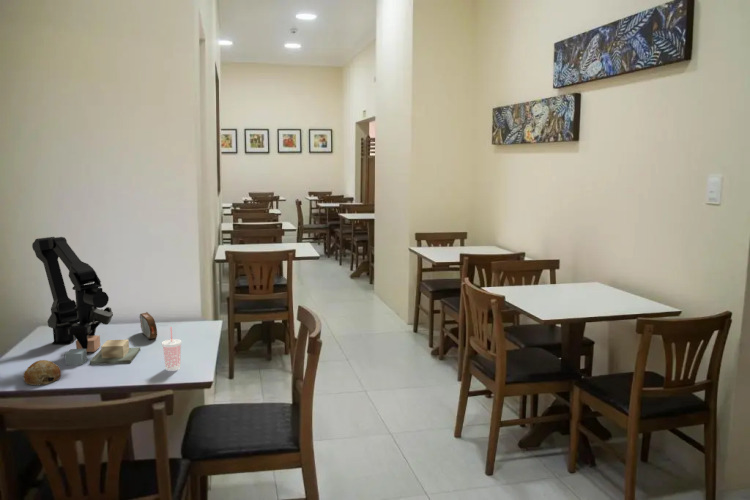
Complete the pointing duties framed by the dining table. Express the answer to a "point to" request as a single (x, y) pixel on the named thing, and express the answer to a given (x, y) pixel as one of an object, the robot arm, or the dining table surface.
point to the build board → (115, 360)
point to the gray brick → (76, 356)
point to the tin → (148, 325)
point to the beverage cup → (172, 353)
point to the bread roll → (42, 373)
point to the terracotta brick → (90, 343)
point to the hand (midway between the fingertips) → (88, 346)
